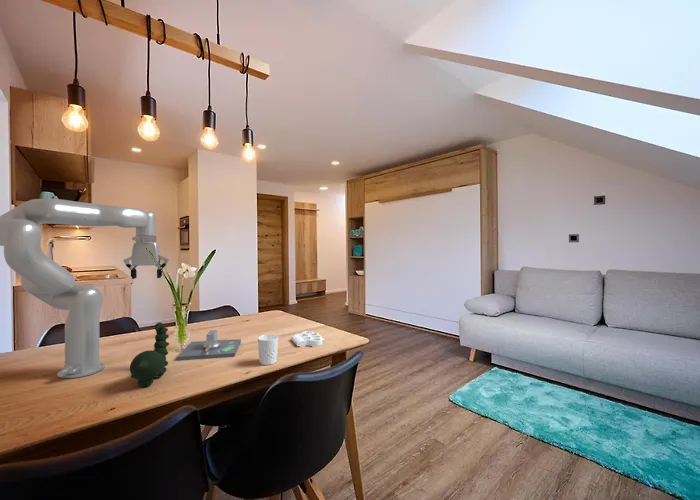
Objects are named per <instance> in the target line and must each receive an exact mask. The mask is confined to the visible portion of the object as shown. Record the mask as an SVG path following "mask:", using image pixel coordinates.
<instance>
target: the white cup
mask: <svg viewBox="0 0 700 500" xmlns="http://www.w3.org/2000/svg"><path fill="white" fill-rule="evenodd" d="M257 343H258V344H257V347H258V360H259V361H258V362H259V364H260V365H262V366H270V364H271V365H274V364H276V363H277V361H278V360H277V359H278V358H277V357H278V348H279V335H276V334H263V335H260V336H258V337H257ZM275 362H276V363H275Z"/></svg>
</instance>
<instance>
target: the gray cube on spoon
mask: <svg viewBox="0 0 700 500" xmlns="http://www.w3.org/2000/svg"><path fill="white" fill-rule="evenodd" d="M205 336H206V337H205V338H206V340H205V341H206V343H204V344H203V349H206V350H205V351H208V350H210V349H216V348H219V347H220V342H219V341H217V340H218V329H211V330H209V331H208V332H207V333H206V335H205Z"/></svg>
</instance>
